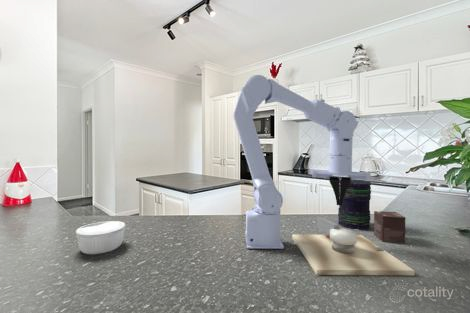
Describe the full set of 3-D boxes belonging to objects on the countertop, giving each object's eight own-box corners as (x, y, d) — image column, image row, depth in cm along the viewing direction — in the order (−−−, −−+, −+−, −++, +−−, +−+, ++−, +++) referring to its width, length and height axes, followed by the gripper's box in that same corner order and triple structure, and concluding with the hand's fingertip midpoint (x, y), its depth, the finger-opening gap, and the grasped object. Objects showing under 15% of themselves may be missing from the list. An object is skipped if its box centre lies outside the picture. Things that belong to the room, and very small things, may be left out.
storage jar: (344, 219, 87) (345, 179, 86) (374, 225, 79) (375, 181, 79) (332, 224, 80) (333, 181, 79) (363, 232, 73) (365, 184, 72)
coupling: (362, 243, 55) (362, 231, 55) (341, 246, 54) (341, 233, 54) (328, 226, 67) (328, 216, 67) (310, 228, 66) (310, 217, 66)
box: (405, 243, 64) (406, 217, 64) (381, 241, 65) (382, 215, 65) (395, 236, 70) (395, 211, 70) (373, 234, 71) (373, 210, 71)
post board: (316, 274, 48) (316, 260, 47) (292, 237, 68) (292, 227, 67) (414, 275, 48) (414, 260, 48) (361, 238, 68) (361, 228, 68)
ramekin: (107, 236, 68) (107, 218, 68) (135, 243, 63) (135, 223, 63) (65, 251, 58) (65, 230, 58) (94, 261, 53) (94, 237, 53)
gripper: (369, 155, 65) (368, 204, 65) (314, 155, 71) (313, 199, 71) (372, 156, 59) (370, 210, 59) (311, 155, 65) (310, 204, 65)
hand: (339, 204), depth 65 cm, fingers closed
